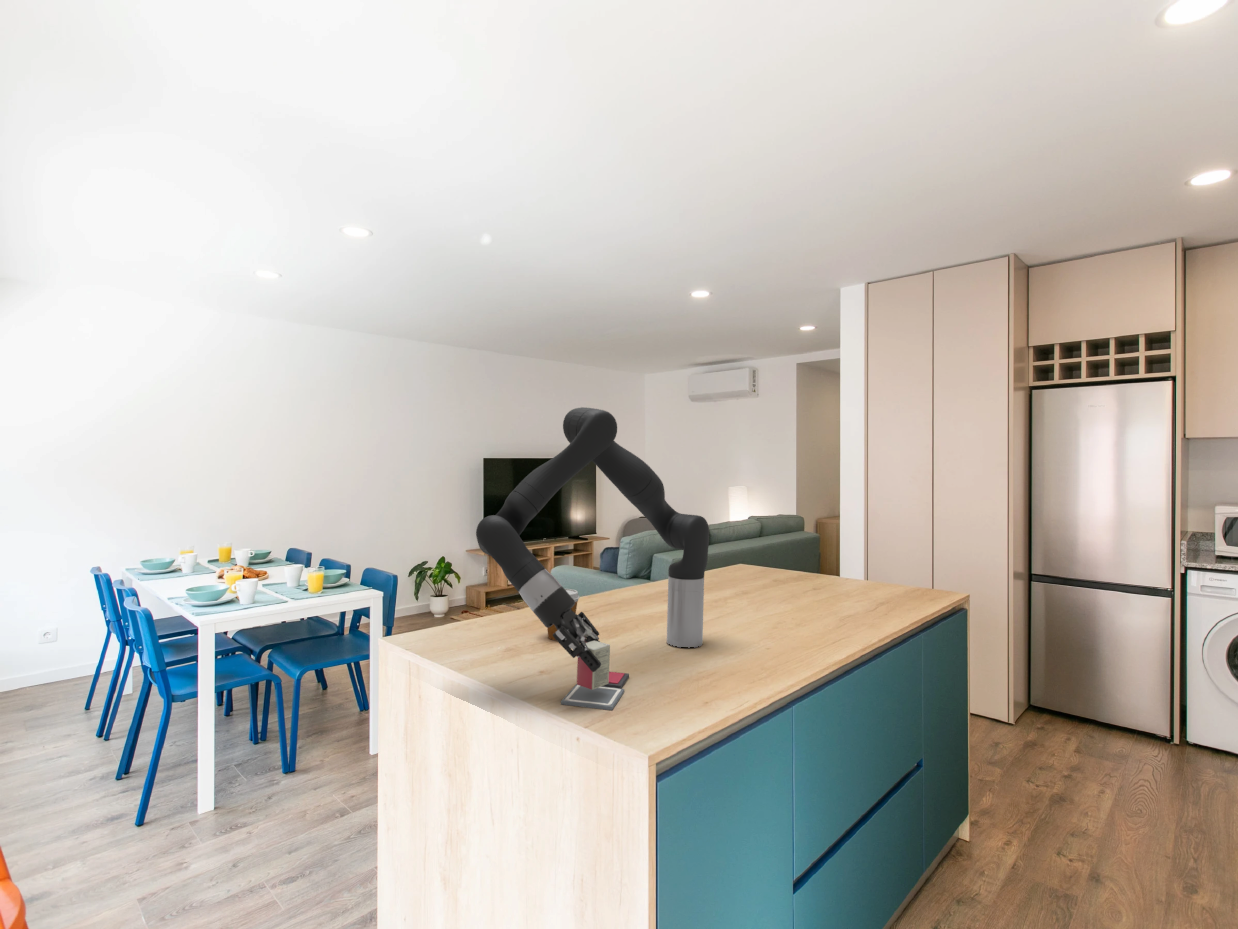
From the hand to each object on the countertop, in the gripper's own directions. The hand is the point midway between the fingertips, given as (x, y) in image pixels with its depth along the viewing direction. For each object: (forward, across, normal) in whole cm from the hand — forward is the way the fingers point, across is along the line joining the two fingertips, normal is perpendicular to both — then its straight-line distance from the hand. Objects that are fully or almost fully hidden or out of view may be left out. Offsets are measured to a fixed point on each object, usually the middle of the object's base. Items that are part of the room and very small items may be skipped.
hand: (602, 663), depth 124 cm
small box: (+2, 0, +4) cm, 5 cm away
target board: (+4, 0, +6) cm, 7 cm away
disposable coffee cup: (-10, +39, +20) cm, 45 cm away
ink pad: (+4, +10, +6) cm, 12 cm away
